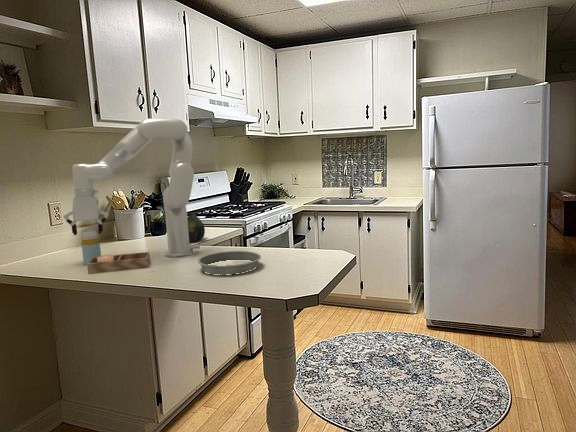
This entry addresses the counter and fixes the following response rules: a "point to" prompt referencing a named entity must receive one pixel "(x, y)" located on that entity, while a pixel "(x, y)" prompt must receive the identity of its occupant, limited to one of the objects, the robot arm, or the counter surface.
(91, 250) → the bottle
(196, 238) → the squash
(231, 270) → the cake pan
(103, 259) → the pink small block
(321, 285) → the counter surface
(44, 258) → the counter surface
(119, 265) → the caddy
